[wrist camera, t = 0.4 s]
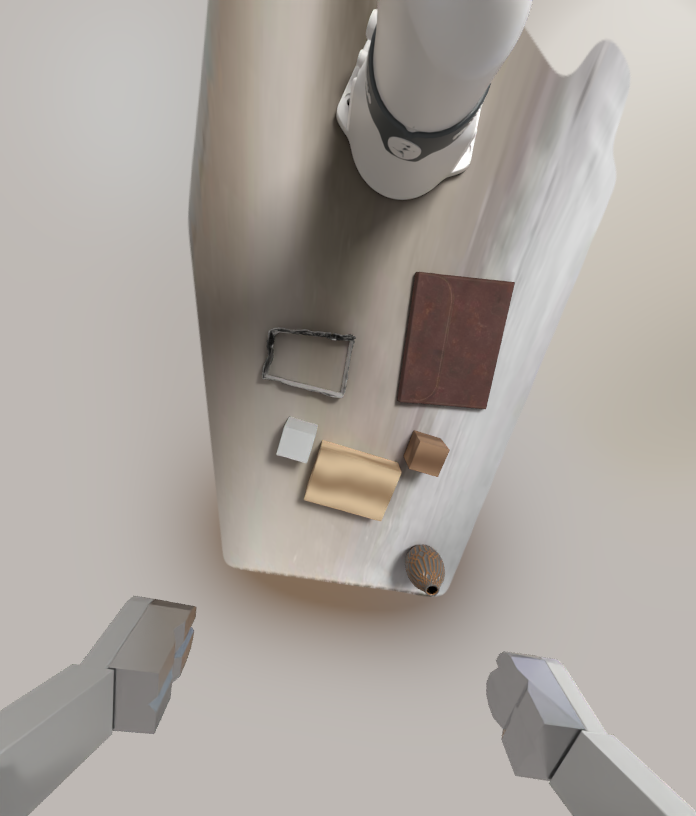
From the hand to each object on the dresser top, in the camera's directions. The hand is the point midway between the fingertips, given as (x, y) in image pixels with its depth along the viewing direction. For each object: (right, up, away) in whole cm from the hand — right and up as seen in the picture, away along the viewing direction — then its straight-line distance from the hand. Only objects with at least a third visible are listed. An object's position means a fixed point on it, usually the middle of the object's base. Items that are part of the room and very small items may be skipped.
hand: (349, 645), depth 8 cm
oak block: (+1, -6, +50) cm, 50 cm away
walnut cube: (+13, -1, +48) cm, 50 cm away
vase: (+14, -22, +55) cm, 60 cm away
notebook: (+17, +17, +43) cm, 49 cm away
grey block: (-8, +2, +47) cm, 47 cm away
